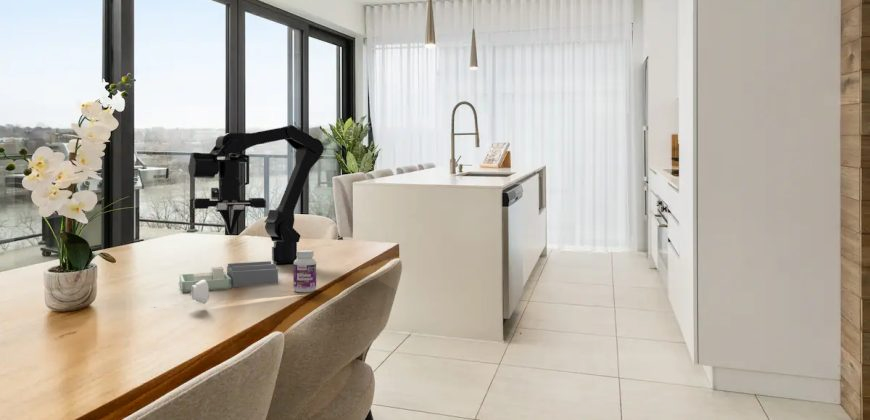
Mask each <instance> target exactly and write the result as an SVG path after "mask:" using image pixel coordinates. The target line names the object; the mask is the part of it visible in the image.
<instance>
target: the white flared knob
mask: <svg viewBox="0 0 870 420" xmlns="http://www.w3.org/2000/svg"><path fill="white" fill-rule="evenodd" d="M209 292H210V291H209V289H208V284H207V282H206V280H201V281H199V282H197V283H196V284H195V285H192V287H191V292H190V295H191V300H193V301H194V300H195V301H196V302H198V303H202V304H207V302H208V300H209V294H210V293H209Z"/></svg>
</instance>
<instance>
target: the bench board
mask: <svg viewBox="0 0 870 420" xmlns="http://www.w3.org/2000/svg"><path fill="white" fill-rule="evenodd" d="M226 274H227V275H228V276H229V277H230V278H231V288H240V287H250V286H258V285H266V284H275V283H276V284H277V283H279V269H278V268H277V263H272V261H271V260H268V261H250V262H249V261H248V262H231V263H227V266H226Z"/></svg>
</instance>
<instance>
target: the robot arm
mask: <svg viewBox="0 0 870 420" xmlns="http://www.w3.org/2000/svg"><path fill="white" fill-rule="evenodd" d="M282 140H284V141H286V142H287V143H288V144H289V146H291V148H293V149H294V150H295V165H294V168H293V169H292V173H291V176H290V178H289V180H288V183H287V185H286V188H285V191H284V192H283V195H282V197H281V200H280V202H279V204H278V206H277V208H275V209H269V211H268V212H267V213H268V214H267V217H266V219H265V220H264V223H265V225H264V229H265V231H266V233H267V234H268V236H269V237H270V240H271V242H273V246H271V260H272V262H273V263H274V264H276V265H278V264H288V263H289V264H294V261H295V260H296V259H298V257H297V256H296V252H297V251H298V249H297V248H298V243H299V242H300V239H301V234H300V233H299V232H298V231H297V230H296V229H295V228H294V225H295V211H296V207H297V205H298V202H299V199H300V197H301V195H302V191H303V189H304V186H305V183H306V182H307V179H308V177H309V173H310V172H311V170H312V167H314V165H315V164H316V163H317V162H318V161H319V159H320V158H321V156H322V155H323V152H324V149H325V146H324V144H323V143H322V141H321V140H320V139H319V138H316V137H313V136H311V135H310V134H308V133H306V132H305V131H302V130H300V129H299V128H297V127H296V126H294V125H292V124H288V125H283V126H281V127H277V128H272V129H267V130H261V131H255V132H229V133H224V134H223V133H222V134H220V135H219V136H218V137H217V138H216V140H215V146H214V147H213V148H212V149H211V150H210V152H209V153H201V152H191V154H190V158H189V163H188V166H187V167H188V168H187V169H188V174H189V177H190V178H191V179H214V178H215V177H216V176H217V175H218V187H211V188H210V197H209V198H208V197H207V198H206V197H203V198H199V197H196V198H194V199H193V201H192V206H193V209H195V210H197V209H199V210H200V209H202V210H204V209H205V210H207V209H209V208H210V207H211V208H212V207H213V208H215V212H217V213H218V212H219V213H220V215H221V218H222V219H223V222H224V225H225V228H226V230H227V233H228V235H233V233H234V229H235V227H236V224H237V222H238V218H239V217H240V215H241V213H242V212H246V209H245V207H250V208H254V209H265V208H267V201H266V199H265V198H263V197H248V199H244V200H243V199H242V197H241V196H242V195H241V192H242V191H241V164H243V163H248V161H249V160H248V159H247V157H245V156H243V153H240V152H243V151H245V150H248V149H250V148H252V147H254V146H258V145H263V144H267V143H273V142H277V141H282ZM238 153H239V154H238ZM233 154H237V155H236V156H229V155H233ZM223 157H224V159H218V158H223ZM228 207H232V209H231V212H230V211H229V209H228ZM230 213H231V217H230Z"/></svg>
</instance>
